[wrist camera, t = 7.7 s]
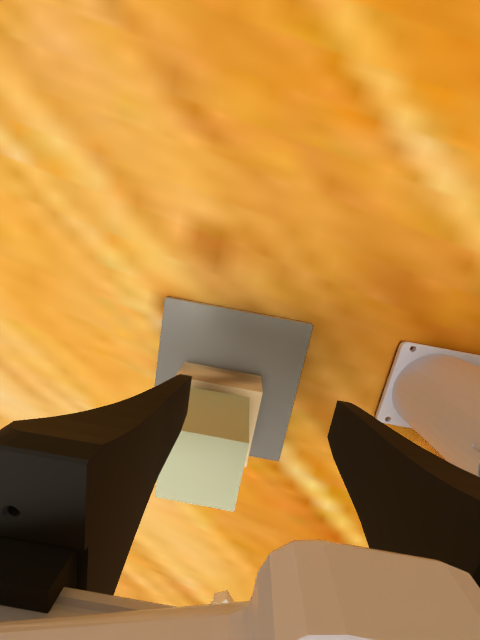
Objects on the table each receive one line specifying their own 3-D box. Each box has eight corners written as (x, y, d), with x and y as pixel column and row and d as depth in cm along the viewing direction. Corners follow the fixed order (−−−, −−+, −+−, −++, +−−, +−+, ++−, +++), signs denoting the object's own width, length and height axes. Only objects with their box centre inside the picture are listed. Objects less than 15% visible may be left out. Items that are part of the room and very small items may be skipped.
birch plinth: (260, 375, 21) (262, 392, 18) (246, 441, 23) (246, 467, 20) (185, 361, 21) (174, 376, 18) (175, 428, 23) (164, 451, 20)
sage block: (249, 397, 18) (249, 443, 14) (237, 451, 19) (233, 511, 15) (186, 385, 18) (164, 427, 14) (178, 440, 19) (155, 496, 15)
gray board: (311, 323, 21) (313, 325, 20) (277, 455, 24) (278, 461, 23) (168, 296, 21) (165, 297, 20) (152, 431, 24) (148, 437, 23)
